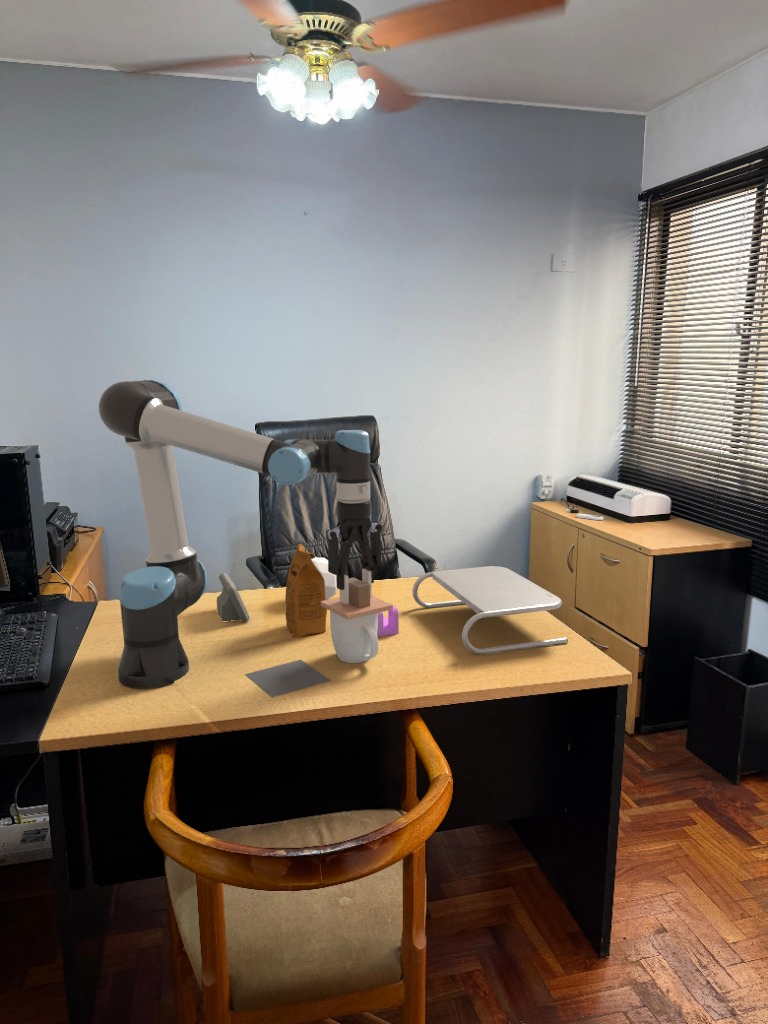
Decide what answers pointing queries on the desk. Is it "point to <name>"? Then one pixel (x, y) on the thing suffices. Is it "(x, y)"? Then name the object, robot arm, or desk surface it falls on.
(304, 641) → the desk surface
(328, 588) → the geodesic sphere
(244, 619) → the digital clock
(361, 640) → the mug
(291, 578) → the coffee package
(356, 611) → the lid
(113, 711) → the desk surface
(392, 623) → the bracket
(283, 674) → the mat
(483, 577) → the monitor stand
